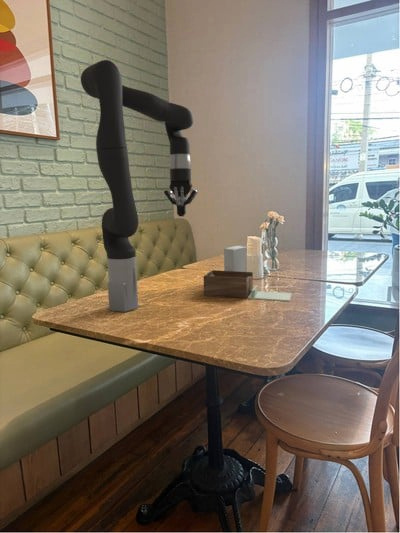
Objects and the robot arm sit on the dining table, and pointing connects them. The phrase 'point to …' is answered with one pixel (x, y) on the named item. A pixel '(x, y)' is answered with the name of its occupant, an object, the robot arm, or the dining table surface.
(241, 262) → the skincare box
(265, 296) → the lid
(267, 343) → the dining table surface
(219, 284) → the box
